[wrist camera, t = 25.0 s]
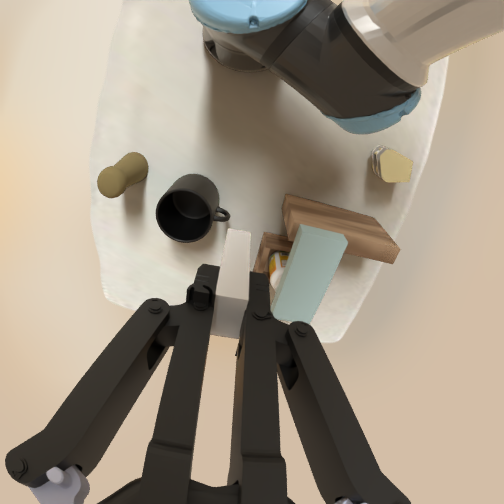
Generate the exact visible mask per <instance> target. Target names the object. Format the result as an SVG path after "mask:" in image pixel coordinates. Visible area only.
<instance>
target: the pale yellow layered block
mask: <svg viewBox="0 0 504 504" xmlns="http://www.w3.org/2000/svg"><path fill="white" fill-rule="evenodd" d="M372 159H373V164H372V169H373V170H374V173H375V174H376V175H377V176H379V177H380V178H381V179H383V180H384V181H385V182H388V183H391V182H409V181H410V176H411V171H412V165H413V161H411V160H410V159H408V158H406V157H404V156H403V155H401V154H399V153H398V152H396V151H394V150H392V149H389V148H387V147H385V146H380V145H378V146H377V147H376V148H375V149H374V150H373V151H372Z"/></svg>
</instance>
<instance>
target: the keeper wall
mask: <svg viewBox="0 0 504 504" xmlns="http://www.w3.org/2000/svg"><path fill="white" fill-rule="evenodd" d="M282 213H283V217H284V221H285V226H286V230H287V235H288V239H289V241H293V242H294V240H295V237H296V234H297V231H298V228H299V225H300V224H303V225H307V226H311V227H316V228H320V229H324V230H328V231H332V232H336V233H340V234H344V236H345V238H346V240H347V241H348V244H347V246H346V249H345V251H344V253H347V254H351V255H356V256H360V257H364V258H369V259H373V260H377V261H381V262H386V263H390V264H393V263H394V261H395V259H396V257H397V255H398V253H399V251H400V248H399V247H398V246H397V244H396V243H395V242H394V241H393V240H392V238H391V237H390V236H389V235H388V233H387V232H386V231H385V230H384V229H383V228H382V226H381V225H380V224H379V223H378V222H377V221H376V219H375V218H373V217H369V216H366V215H363V214H359V213H356V212H352V211H349V210H345V209H342V208H338V207H335V206H331V205H327V204H324V203H320V202H316V201H312V200H308V199H304V198H300V197H296V196H292V195H288V194H286V195H285V199H284V202H283V205H282Z"/></svg>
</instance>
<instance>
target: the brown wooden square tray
mask: <svg viewBox="0 0 504 504" xmlns="http://www.w3.org/2000/svg"><path fill="white" fill-rule="evenodd" d="M293 243H294V242H293V241H289V239H288V237H286V236H281V235H277V234H272V233H267V232H264V234H263V237H262V241H261V244H260V248H259V252H258V255H257V259H256V262H255V266H254V269H253V272H257V273H263V274H265V275H266V276H267V278H268V280H269V284H271V283H270V271H269V259H270V256H271V255H272V254H273V253H274V252H276V251H279V250H280V251H285V252H291V249H292V246H293Z"/></svg>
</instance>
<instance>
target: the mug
mask: <svg viewBox="0 0 504 504" xmlns="http://www.w3.org/2000/svg"><path fill="white" fill-rule="evenodd" d="M218 205H219V193H218V190H217V188H216V186H215V185H214V183H213V182H212V181H211V180H209V179H208V178H206V177H204V176H202V175H198V174H188V175H185V176H182V177H181V178H179V179H178V180H177V181H176V182H175V183H174V184H173V185H172V186H171V187H170V188H169V189H168V191H167V192H166V193H165V194H164V195H163V196H162V197H161V199H160V200H159V202H158V204H157V208H156V219H157V223H158V225H159V227H160V229H161V230H162V231H163V232H164V234H166V235H167V236H168V237H169V238H171V239H173V240H175V241H178V242H183V243H189V242H195V241H197V240H200V239H201V238H203V237H204V236H205V235H206V234H207V233H208V232H209V230H210V228H211V226H212V223H213V221H219V222H225V221H228V220H229V218H230V214H229V213H228V212H227V211H226V210H224V209H222V208H220V207H218ZM216 212H220V213H222V214H224V215H225V217H218V216H216V215H215V214H216Z"/></svg>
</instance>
